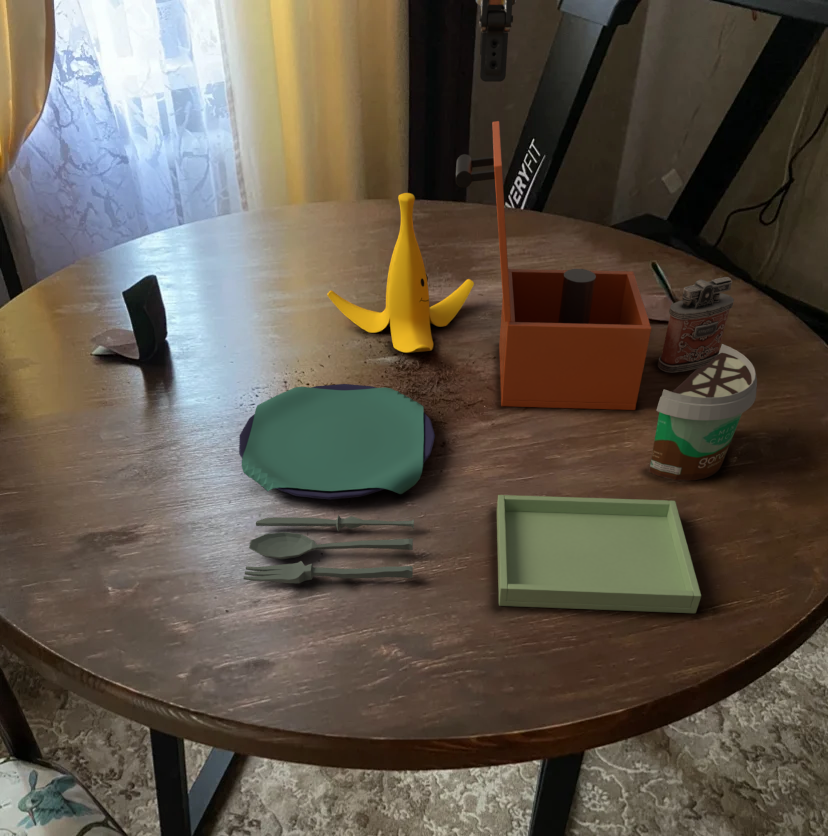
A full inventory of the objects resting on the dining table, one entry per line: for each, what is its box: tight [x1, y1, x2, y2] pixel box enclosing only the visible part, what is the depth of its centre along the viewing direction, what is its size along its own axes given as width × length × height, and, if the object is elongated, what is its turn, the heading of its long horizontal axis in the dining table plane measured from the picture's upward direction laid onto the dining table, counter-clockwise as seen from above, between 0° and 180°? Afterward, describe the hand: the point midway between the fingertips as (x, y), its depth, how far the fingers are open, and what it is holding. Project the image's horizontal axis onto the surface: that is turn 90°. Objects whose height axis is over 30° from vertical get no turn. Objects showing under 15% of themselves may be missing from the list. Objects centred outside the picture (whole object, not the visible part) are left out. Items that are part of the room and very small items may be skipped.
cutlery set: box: [238, 383, 436, 584], centre depth 82 cm, size 20×30×2 cm, turn 179°
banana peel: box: [326, 192, 475, 354], centre depth 101 cm, size 16×19×17 cm
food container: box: [648, 343, 758, 482], centre depth 81 cm, size 12×6×10 cm, turn 137°
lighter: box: [657, 276, 735, 374], centre depth 96 cm, size 8×3×10 cm, turn 114°
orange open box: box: [498, 268, 652, 411], centre depth 94 cm, size 15×14×10 cm
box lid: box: [455, 120, 511, 322], centre depth 86 cm, size 15×14×4 cm
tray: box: [496, 494, 702, 614], centre depth 73 cm, size 16×12×2 cm
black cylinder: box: [558, 268, 596, 324], centre depth 94 cm, size 3×3×11 cm
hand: (491, 68), depth 76 cm, fingers open, 8 cm apart
